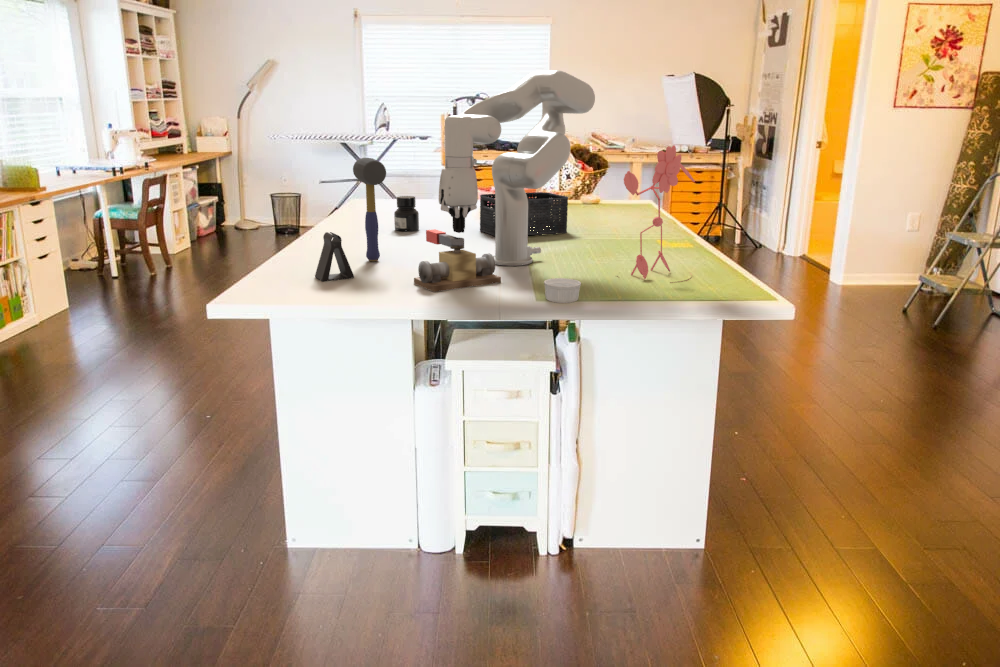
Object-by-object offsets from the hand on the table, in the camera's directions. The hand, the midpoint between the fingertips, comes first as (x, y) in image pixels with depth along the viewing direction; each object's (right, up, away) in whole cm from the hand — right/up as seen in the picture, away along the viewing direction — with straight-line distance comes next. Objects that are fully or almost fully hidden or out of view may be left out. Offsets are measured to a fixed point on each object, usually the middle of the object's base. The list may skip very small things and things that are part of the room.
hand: (458, 231), depth 211 cm
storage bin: (+20, +9, +70) cm, 73 cm away
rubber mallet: (-26, -6, +18) cm, 33 cm away
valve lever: (-3, -4, -6) cm, 8 cm away
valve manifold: (0, -15, -8) cm, 17 cm away
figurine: (+55, -13, 0) cm, 57 cm away
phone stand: (-33, -13, -3) cm, 36 cm away
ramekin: (+26, -20, -24) cm, 41 cm away
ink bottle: (-23, +10, +73) cm, 77 cm away
